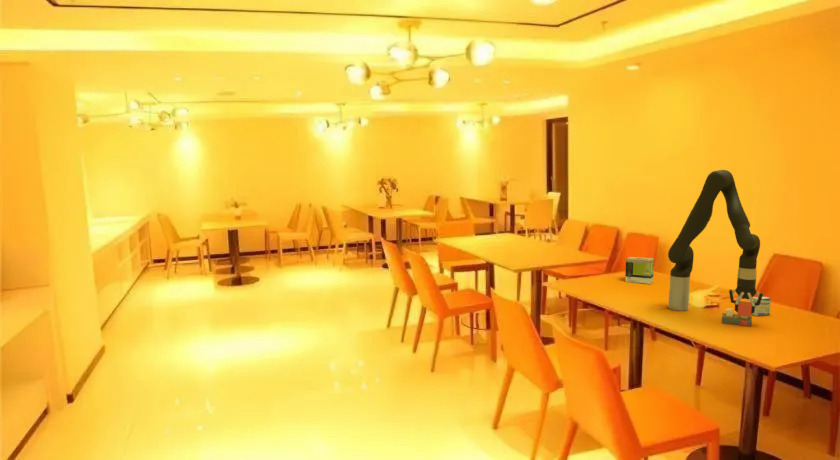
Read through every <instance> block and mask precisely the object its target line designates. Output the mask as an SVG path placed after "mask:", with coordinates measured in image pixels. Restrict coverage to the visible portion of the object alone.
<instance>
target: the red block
mask: <svg viewBox="0 0 840 460" xmlns="http://www.w3.org/2000/svg"><path fill="white" fill-rule="evenodd" d="M751 310H752V304H751V301H743V300H740V301H739V303H738V312H737V314H738V315H742V316H751V317H752V315H751Z"/></svg>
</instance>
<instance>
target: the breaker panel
mask: <svg viewBox="0 0 840 460" xmlns="http://www.w3.org/2000/svg"><path fill="white" fill-rule="evenodd" d="M721 314H722V315H721V316H722V317H721V324H725V325H733V326H743V327H752V322H753V319H752V315H751V316H748V319H746V318H740V315H738V313H733V317H728V316H726V312H722V313H721Z"/></svg>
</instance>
